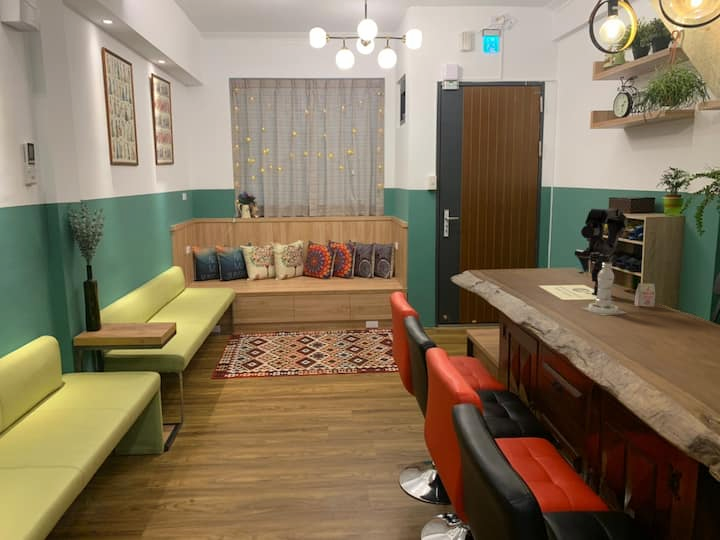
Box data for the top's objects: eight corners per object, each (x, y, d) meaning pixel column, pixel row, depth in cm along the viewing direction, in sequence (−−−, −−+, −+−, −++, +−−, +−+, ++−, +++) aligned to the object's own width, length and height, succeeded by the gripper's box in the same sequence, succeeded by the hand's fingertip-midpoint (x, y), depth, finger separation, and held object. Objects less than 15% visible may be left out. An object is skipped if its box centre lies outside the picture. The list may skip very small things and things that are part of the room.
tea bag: (634, 304, 254) (636, 282, 252) (649, 305, 254) (652, 283, 252) (638, 306, 250) (640, 284, 248) (653, 307, 250) (656, 284, 248)
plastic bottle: (607, 308, 245) (611, 261, 242) (613, 312, 239) (618, 264, 235) (591, 307, 245) (596, 261, 242) (597, 311, 239) (602, 264, 235)
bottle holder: (602, 306, 250) (602, 301, 250) (626, 313, 238) (627, 308, 238) (579, 308, 245) (579, 303, 245) (603, 315, 233) (603, 310, 233)
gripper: (594, 239, 247) (591, 275, 250) (626, 238, 254) (622, 273, 257) (575, 236, 257) (572, 271, 260) (606, 235, 264) (603, 269, 267)
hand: (593, 271), depth 261 cm, fingers open, 9 cm apart
